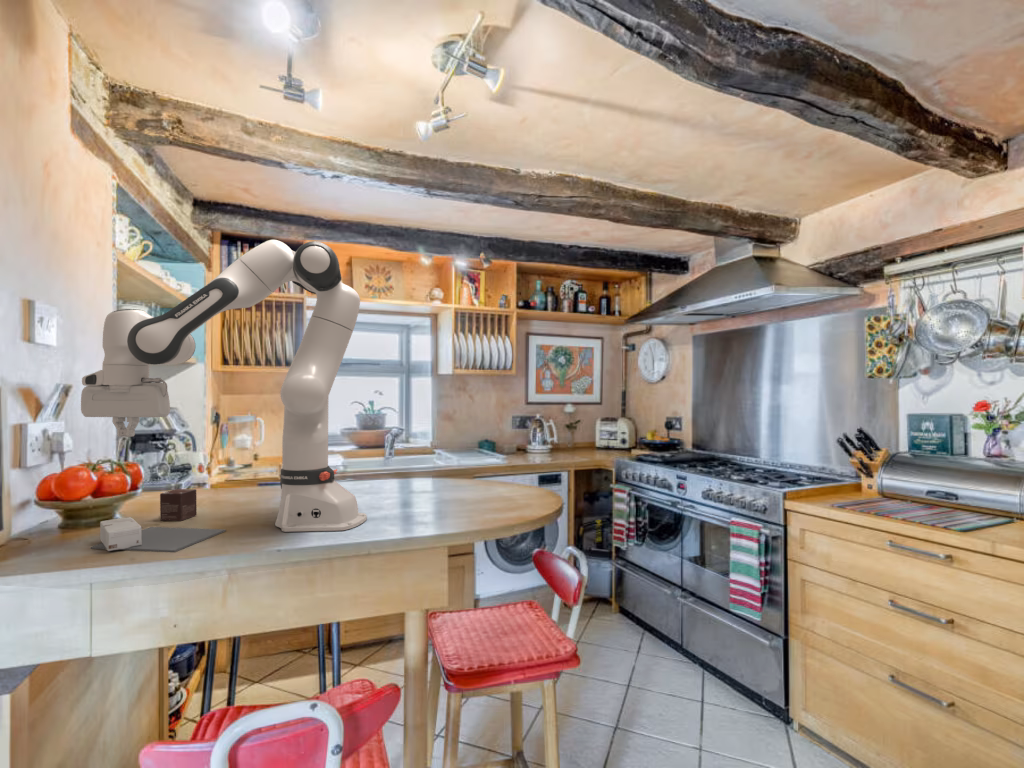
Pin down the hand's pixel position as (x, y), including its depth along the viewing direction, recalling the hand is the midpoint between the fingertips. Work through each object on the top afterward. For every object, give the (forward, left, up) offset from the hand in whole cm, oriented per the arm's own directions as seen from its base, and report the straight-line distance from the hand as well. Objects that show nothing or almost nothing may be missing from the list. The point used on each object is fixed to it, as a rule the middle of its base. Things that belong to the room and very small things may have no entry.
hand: (126, 436), depth 120 cm
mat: (-11, +2, -23) cm, 26 cm away
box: (0, -16, -24) cm, 29 cm away
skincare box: (0, +2, -21) cm, 21 cm away
